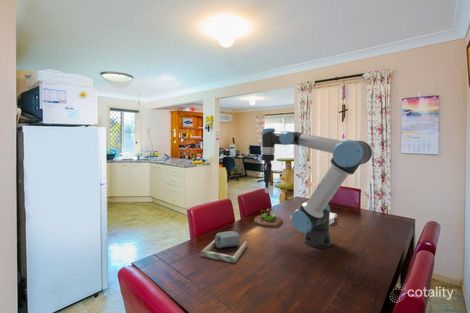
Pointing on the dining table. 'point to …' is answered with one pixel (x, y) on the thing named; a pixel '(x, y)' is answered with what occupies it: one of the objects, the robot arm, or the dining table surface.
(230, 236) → the streaked grey egg
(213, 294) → the dining table surface
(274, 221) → the plant
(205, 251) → the bay
